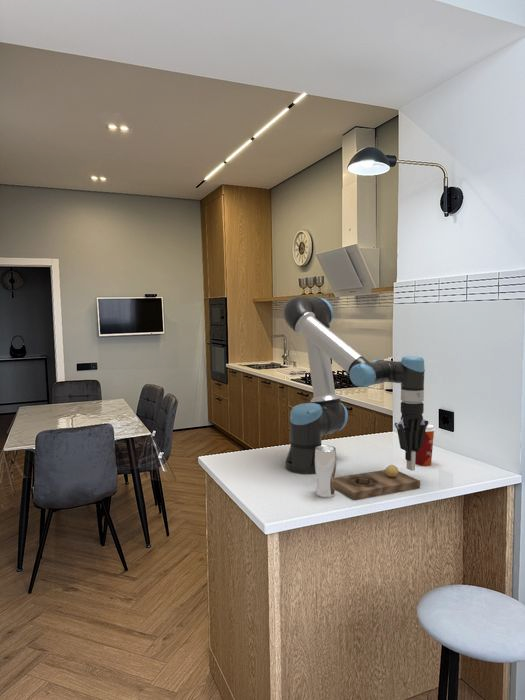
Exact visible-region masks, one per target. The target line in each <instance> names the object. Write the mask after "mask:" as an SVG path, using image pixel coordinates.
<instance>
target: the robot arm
mask: <svg viewBox="0 0 525 700" xmlns="http://www.w3.org/2000/svg"><path fill="white" fill-rule="evenodd" d="M282 313H283V314H282V316H283V319H284V321H285V323H286V324H287V326H288V327H289V328H291V330H292V331H294V332H295V333H296V334H298V335H302V336H304V338H305V343H306V344H305V345H306V351H307V360H308V364H309V365H308V366H309V373H310V378H311V380H310V381H311V387H312V392H313V393H312V394H313V397H312V399H310V402H306V403H300V404H296V405H294V406H293V407H292V408H291V410H290V416H289V423H290V425H289V428H290V429H289V433H290V435H289V436H290V437H289V438H290V439H289V440H290V441H289V442H290V443H289V444H290V445H289V450H288V452H287V455H286V459H285V469H286V468H287V469H286V470H288V471H289V470H290V471H289V472H292V473H297V474H309V475H310V474H316V471H315V448H316V447H317V446H322V442H323V441H322V437H324V436H326V435H330V434H336V433H338V432H339V431H341V430H343V429H344V427H345V426H346V425H347V423H348V421H349V411H348V409H347V407H346V406H345V405H344V404H343V403H342V402H341V397H340V396H339V395H337V394H336V389H335V381H334V375H333V367H332V361H333V362H335V363H336V364H337V365H338V366H340V367H341V368H342V370H344V371H346V372H347V373H348V374H349V379H350V381H351V383H352V385H354V386H356V387H362V388H363V387H366V388H367V387H371V386H374V385H378V384H383V383H396V384H400V400H401V402H400V413H401V417H400V420H399V421H398V422H395V423H394V426H395V428H396V432H397V435H398V442H399V443H398V444H399V447H400V449H401V450H403V451H405V453H404V455H405V458H404V459H405V461H406V469H407V470H409V471H411V472H413V471H416V464H415V460H416V459H417V452H419V449H421V448H422V445H423V440H424V436H425V431H426V427H427V425H428V424H430V423H429V421H428V420H427V419H424V416H423V414H424V407H425V406H424V401H425V400H424V399H425V371H426V370H425V369H426V368H425V359H424V358H423V357H421V356H417V355H415V356H414V355H413V356H411V355H404V356H402V357H401V360H400V361H397V360H396V361H394V360H384V359H373V360H372V361H371V362H370V361H369V360H368V359H367V358H365V357H364V356H362V354H360V353H359V352H358V351H357V350H355V349H354V348H353V347H351V346H350V345H349V343H347V342H345V341H344V339H342V338H341V337H339V336H338V335H337V334H335V332H333V331H332V330H331V326H330V324H331V323H332V320H333V319H334V308H333V306H332V305H331V303H330V302H329V300H328V299H325V298H322V297H318V296H295V297H292V298H290V299H289V300H288V301H287V302H286V304H285V305H284V308H283V310H282Z"/></svg>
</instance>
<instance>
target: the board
mask: <svg viewBox="0 0 525 700" xmlns="http://www.w3.org/2000/svg"><path fill="white" fill-rule="evenodd" d="M420 488H421V480H419V479H418V478H415V477H412V476H410V475H408V474H406V473H404V472H402V471H399V470H398V474H397V475H396V476H395V477H390V476H388V475H387V473H386V469H381V470H375V471H374V470H373V471H370V472H369V471H368V472H362V473H356V474H351V475H344V476H339V477H337V476H336V477H334V490H336V491H337V492H339V493H341V494H343V495H345V496H346V497H347V498H350V499H351V500H353V501H357V500H362V499H363V500H364V499H368V498H374V497H380V496H386V495H390V494H396V493H401V492H406V491H412V490H418V489H420Z"/></svg>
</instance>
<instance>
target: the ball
mask: <svg viewBox="0 0 525 700" xmlns="http://www.w3.org/2000/svg"><path fill="white" fill-rule="evenodd" d="M385 470H386V473H387V475H388V476H390V477H395V476H396V475H397V474H398V471H399V469H398V467H397V466H396V465H394V464H389V465H388V466H387V467H386V469H385Z"/></svg>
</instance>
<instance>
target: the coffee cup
mask: <svg viewBox="0 0 525 700" xmlns="http://www.w3.org/2000/svg"><path fill="white" fill-rule="evenodd" d="M435 431H436V428H435V426H434V425H433V424H430V423H428V425H427V427H426V431H425V436H424V440H423V445H422V448H421V449H419V452H417V459H416V460H415V466H416V465H417V466H419V467H430V466H431V465H432V461H433V460H432V458H433V446H434V434H435Z"/></svg>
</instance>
